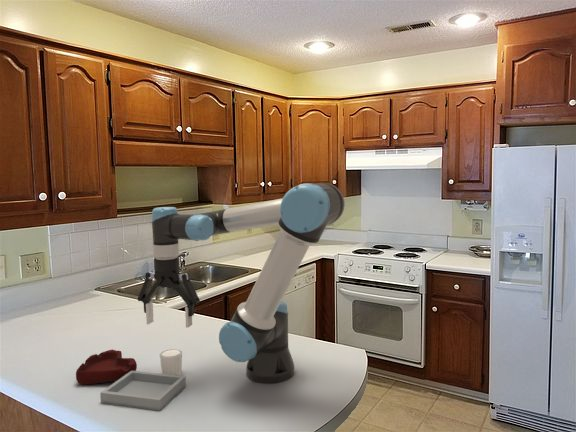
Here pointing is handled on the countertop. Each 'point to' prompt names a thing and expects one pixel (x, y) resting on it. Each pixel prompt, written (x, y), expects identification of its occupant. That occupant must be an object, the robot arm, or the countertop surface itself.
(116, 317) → the countertop surface
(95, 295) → the countertop surface
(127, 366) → the ashtray
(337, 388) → the countertop surface
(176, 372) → the white cup
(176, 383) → the tray
